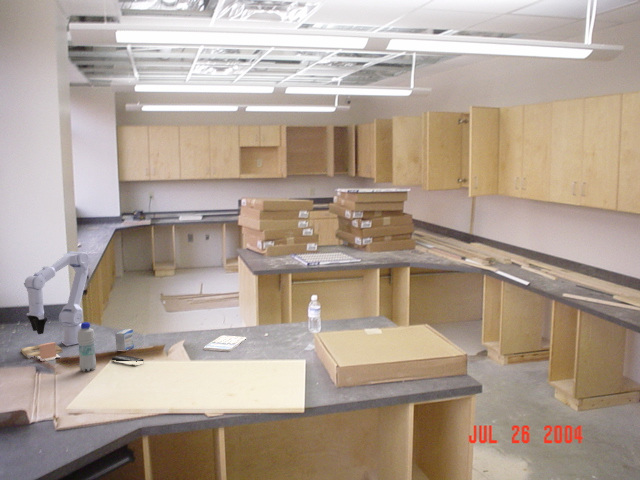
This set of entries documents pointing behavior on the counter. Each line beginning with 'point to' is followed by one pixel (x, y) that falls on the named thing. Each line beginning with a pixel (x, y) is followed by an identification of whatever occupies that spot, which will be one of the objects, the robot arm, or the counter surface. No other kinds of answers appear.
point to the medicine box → (124, 339)
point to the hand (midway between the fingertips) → (38, 332)
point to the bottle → (86, 347)
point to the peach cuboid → (47, 350)
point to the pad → (51, 357)
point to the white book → (224, 343)
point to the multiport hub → (126, 358)
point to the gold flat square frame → (36, 350)
